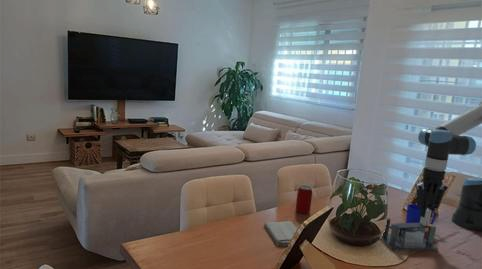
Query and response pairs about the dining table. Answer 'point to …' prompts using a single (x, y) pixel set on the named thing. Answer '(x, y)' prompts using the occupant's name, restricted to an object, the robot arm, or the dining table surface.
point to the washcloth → (281, 231)
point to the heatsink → (409, 238)
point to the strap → (409, 225)
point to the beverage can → (304, 199)
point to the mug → (415, 214)
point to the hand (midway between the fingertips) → (424, 224)
